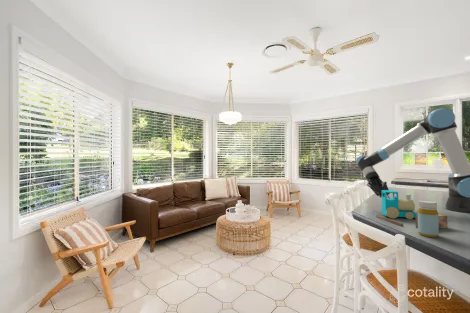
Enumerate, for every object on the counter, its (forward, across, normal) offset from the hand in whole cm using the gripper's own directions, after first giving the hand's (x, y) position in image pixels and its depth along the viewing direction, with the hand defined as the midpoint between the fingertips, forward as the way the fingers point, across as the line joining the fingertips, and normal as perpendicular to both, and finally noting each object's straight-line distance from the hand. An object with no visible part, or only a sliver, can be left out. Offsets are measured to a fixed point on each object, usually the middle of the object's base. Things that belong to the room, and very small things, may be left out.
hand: (390, 204), depth 138 cm
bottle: (+29, +10, +20) cm, 37 cm away
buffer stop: (+22, -1, +14) cm, 26 cm away
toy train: (+9, -1, 0) cm, 9 cm away
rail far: (+13, +12, +5) cm, 18 cm away
